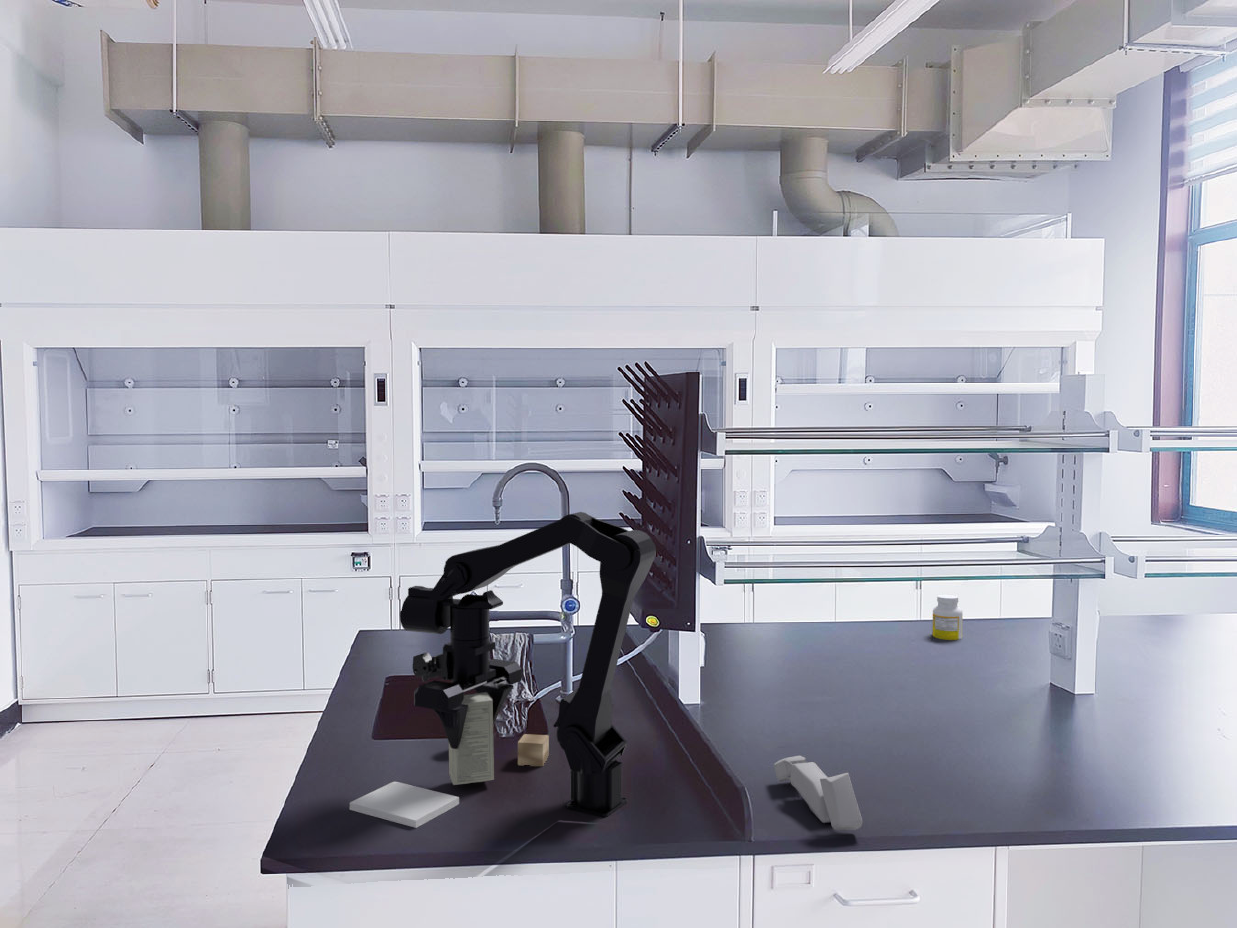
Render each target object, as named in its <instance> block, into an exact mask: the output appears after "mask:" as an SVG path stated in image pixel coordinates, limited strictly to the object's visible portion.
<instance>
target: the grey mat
mask: <svg viewBox="0 0 1237 928" xmlns="http://www.w3.org/2000/svg"><path fill="white" fill-rule="evenodd" d="M459 805H460V797H459V796H455V795H453V794H448V793H443V792H440V791H435V790H432V789H427V788H424V787H419V786H416V785H411V784H407V783H404V782H398V781H392V782H389V783H388V784H385V785H384V786H382V787H379V788H377V789H376V790H373V791H371V792H369V793H367V794H365V795H362V796H360V797H358V798H357V799H355V800H352V801H350V802H349V811H353V812H357V813H360V814H363V815H367V816H372V817H375V818H379V819H382V820H386V821H389V822H392V823H397V824H400V825H404V826H407V827H412V828H415V829H417V828H418V827H420V826H422V825H424V824H426V823H428V822H431V820H433V819H435V818H436V817H439V816H441V815H442V814H444V813H446V812H448V811H450V810H451V809H453V808H455V807H456V806H459Z"/></svg>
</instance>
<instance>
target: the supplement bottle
mask: <svg viewBox="0 0 1237 928" xmlns="http://www.w3.org/2000/svg"><path fill="white" fill-rule="evenodd" d="M936 601H937V605H936V606H935V607H933V608H932V629H931V630H932V636H933V637H934V638H936V639H939V640H946V641H947V640H948V641H954V640H955V641H957V640H961V639H963V617H964V616H963V610H962V609H961V607H959V606H958V604H959V603H958V602H959V596H957V595H953V594H951V595H950V594H937V596H936Z"/></svg>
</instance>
